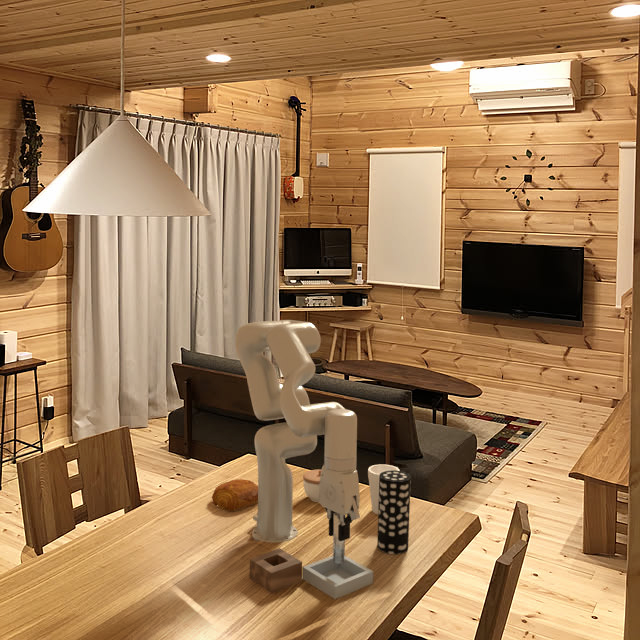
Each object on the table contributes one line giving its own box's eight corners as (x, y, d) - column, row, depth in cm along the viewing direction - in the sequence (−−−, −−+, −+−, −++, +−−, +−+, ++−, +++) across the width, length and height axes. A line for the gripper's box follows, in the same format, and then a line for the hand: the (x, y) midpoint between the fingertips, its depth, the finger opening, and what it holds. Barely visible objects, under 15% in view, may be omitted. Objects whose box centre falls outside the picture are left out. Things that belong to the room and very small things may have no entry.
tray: (302, 582, 173) (302, 566, 173) (339, 567, 181) (340, 552, 180) (334, 603, 164) (335, 586, 163) (372, 586, 172) (373, 571, 171)
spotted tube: (406, 555, 188) (409, 482, 185) (375, 552, 190) (377, 479, 187) (409, 542, 196) (411, 471, 193) (379, 538, 198) (381, 469, 195)
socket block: (249, 582, 173) (249, 558, 172) (279, 571, 179) (279, 548, 178) (271, 597, 166) (271, 573, 165) (301, 585, 172) (302, 561, 171)
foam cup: (377, 519, 211) (378, 477, 209) (361, 508, 219) (362, 467, 217) (404, 513, 215) (405, 472, 213) (387, 502, 223) (388, 462, 221)
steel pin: (330, 560, 171) (331, 512, 170) (339, 557, 173) (339, 509, 172) (338, 564, 169) (338, 516, 168) (346, 561, 171) (347, 513, 169)
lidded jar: (299, 493, 229) (300, 465, 228) (331, 491, 232) (332, 463, 231) (306, 506, 219) (307, 477, 218) (340, 504, 222) (341, 474, 220)
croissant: (269, 508, 223) (272, 483, 222) (231, 516, 211) (234, 490, 211) (238, 495, 232) (241, 471, 232) (200, 501, 220) (203, 476, 220)
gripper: (306, 456, 172) (305, 529, 174) (351, 475, 160) (350, 553, 162) (330, 451, 177) (329, 522, 179) (375, 468, 164) (374, 544, 167)
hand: (339, 536), depth 170 cm, fingers closed on steel pin, 2 cm apart
